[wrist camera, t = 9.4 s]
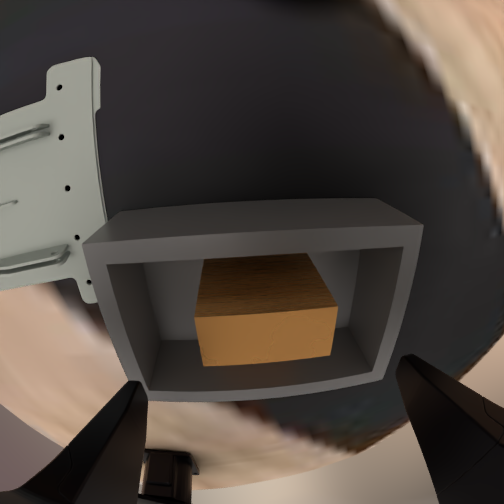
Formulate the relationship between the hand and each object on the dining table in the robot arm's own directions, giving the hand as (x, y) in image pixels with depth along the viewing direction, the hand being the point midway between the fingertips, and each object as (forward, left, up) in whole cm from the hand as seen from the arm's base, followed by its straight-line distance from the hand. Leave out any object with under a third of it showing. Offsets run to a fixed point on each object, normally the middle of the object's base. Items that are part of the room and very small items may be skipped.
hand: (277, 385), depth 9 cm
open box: (-1, 0, -9) cm, 9 cm away
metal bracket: (+6, +15, -10) cm, 19 cm away
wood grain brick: (-1, 0, -9) cm, 9 cm away
